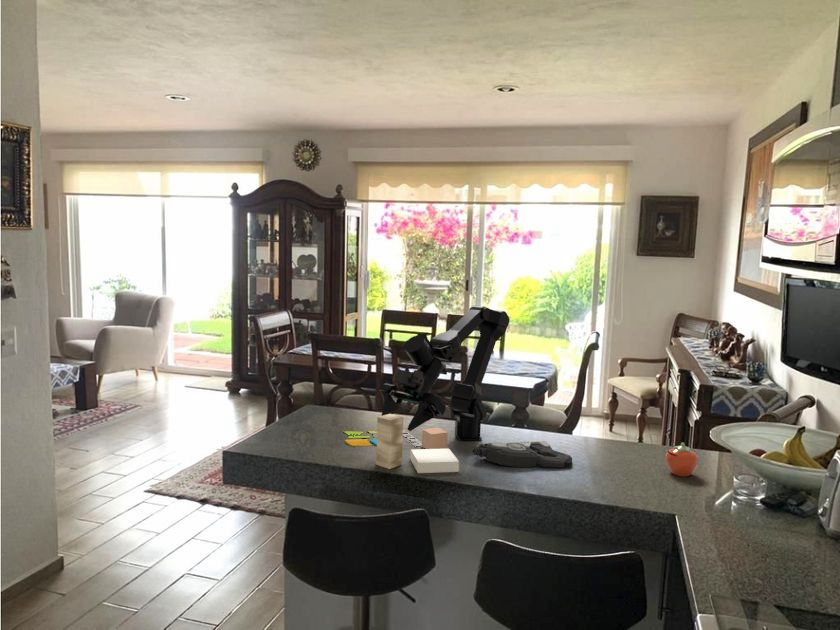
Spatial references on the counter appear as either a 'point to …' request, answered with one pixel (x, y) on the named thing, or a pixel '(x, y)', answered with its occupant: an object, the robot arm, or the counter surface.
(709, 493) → the counter surface
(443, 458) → the slab
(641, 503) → the counter surface
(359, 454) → the counter surface
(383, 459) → the beech block
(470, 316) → the robot arm
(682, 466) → the tomato
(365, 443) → the logo
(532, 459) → the sci-fi pistol
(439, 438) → the terracotta cube
